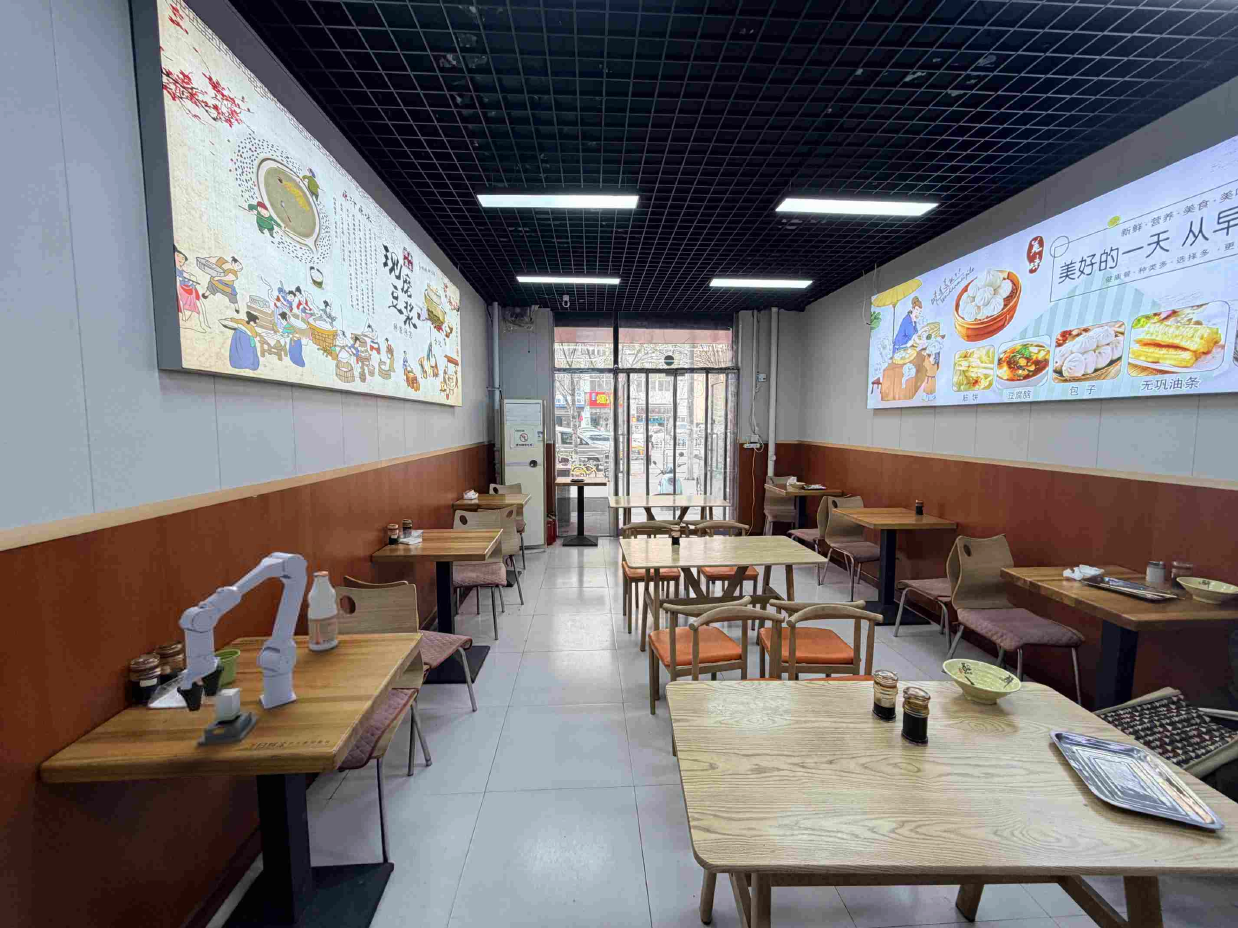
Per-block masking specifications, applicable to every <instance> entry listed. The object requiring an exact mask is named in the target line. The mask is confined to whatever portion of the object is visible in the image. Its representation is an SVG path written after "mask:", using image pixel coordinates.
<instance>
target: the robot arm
mask: <svg viewBox="0 0 1238 928" xmlns="http://www.w3.org/2000/svg"><path fill="white" fill-rule="evenodd" d="M307 566H308V562H307V560H306V559H305V558H304V557H303V556H302V555H300V554H297V553H296V554H292V553H285V552H280V551H275V552H273V553H270V554H269V555H268V556H267V557H265V558H262V560H261V561H260V563H259V564H258V565H257V566H256V567H255V568H253V569H252V570H251V571H250V572H249V573H247V574H246V575H244V577H242V578H241V579H240V580H239V581H238V582H236V583H235V584H233V585H232V586H224V587H219V588H218V589H216V590H215V593H214V594H212V595H211V596H209V597H208V598H207V599H205V600H203V601H200V602H199V603H198V605H197V606H194V607H193V606H192V607H190V608H188V609H186V610H184V612H183V614H182V615H181V617H180V619H179V620H178V625H179V627H181V628H182V629H183V630H184V639H185V657H186V658H185V660H186V669H184V670H183V671H181V674H182V675H183V676H184V677H183V679H182V681H181V682H179V684H180V685H179V686H177V687H176V693H178V694H179V696H181V697H182V699H183V700H184V702H185V705H186V707H187V709H188V711H189V712H198V711H200V710H201V706H202V696H203V692H204V696H205V697H206V698H209V697H215V696H216V695H217V692H218V687H219V685H218V684H219V680H220V677H221V675H222V673H223V671H224V669H225V668H224V666H218V665H220V657H218V658H214V653H215V645H214V641H215V639H214V627H215V626H216V625H217V623H218V621H219V619H220V618H221V617H222V616H224V614H226V613H228V612H229V611H230V610H231V609H232V608H234V607H235V606H237V605H238V604H239V603H240V602H241V599H242V596H243V595H244V594H246V593H247V592H249V591H250V590H252V589H253V588H254V587H256V586H258V585H259V584H261V583H262V582H263V581H266V579H268V578H274V577H275V578H276V577H277V578H278V579H280V580H281V582H282V583H283V584H284V589H283V593H282V596H281V599H280V603H279V607H278V610H277V614H276V618H275V623H274V626H273V630H272V634H271V637H270V638H269V639H267V640H266V641H265V642H264V643H263V646H262V649H261V650H260V652H259V653H258V655H257V656H256V664H257V666H258V667H259V668H261V673H262V681H263V682H262V683H263V685H262V686H263V694H261V695H260V696H259V698H260V701H261V703H262V705H263V708H264V709H266V710H267V709H270V708H274V707H278V706H280V705H283V704H287V703H290V702H293V701H296V700H297V699H298V698H297V695H295V693H294V690H293V669H294V667H295V665H296V663H297V660H298V659H297V657H298V656H297V648H298V646H297V644H296V643H295V641H294V639H293V637H294V633H295V629H296V625H297V621H298V617H299V614H300V610H301V606H302V605H301V604H302V602H303V598H304V594H305V590H306V586H307V581H308V575H307V571H306V569H307ZM200 679H201V682H202V683H201V684H199V682H198V680H200Z"/></svg>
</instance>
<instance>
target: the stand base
mask: <svg viewBox="0 0 1238 928" xmlns="http://www.w3.org/2000/svg"><path fill="white" fill-rule="evenodd" d="M252 716H253V715H252V710H246V711H245V710H244V711H241V712H240V713H239V714H238V715H237V716H236V717H235V718H234V719H231V720H222V721H215V719H214V720H213V721H211V723H210V724H209V725H207V727H205V728H204V730H203V731H204V734H203V736H201V738H199V740H198V741H196V747H200V746H201V747H202V746H209V745H219V744H225V743H226V744H229V743H235V742H241V741H242V740H244V738H245V737H246V736H247V735H248V733H249V732H250V731H251V730H252V729H253V728H254V726H255V725H256V724H257V723H258V722H259V720H260V716H253V717H252Z"/></svg>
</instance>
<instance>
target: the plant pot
mask: <svg viewBox="0 0 1238 928" xmlns="http://www.w3.org/2000/svg"><path fill="white" fill-rule="evenodd" d="M240 654H241V651H240V650H238V649H225V650H220V651H217V652H214V658H218V657H220V665H218V666H224V668H225V669H224V671H223V673H222V675H221V677H220V680H219V684H218V686H223V685H225V684H227V683H229V684H230V683H231V682H234V681H235V680H236V676H237V666H238V659H239V658H240V657H239V656H240Z"/></svg>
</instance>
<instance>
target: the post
mask: <svg viewBox="0 0 1238 928" xmlns="http://www.w3.org/2000/svg"><path fill="white" fill-rule="evenodd" d="M240 693H241V692H240V688H239V687H238V688H227V689H222V690H220V692H218V693H216V695H215V696H213V697H214V710H215V712H214V714H215V717H214V720H215V721H222V720H231V719H234V718H235V717H236V716H237V715H238V714H239V713H240V712H242V707H241V695H240Z"/></svg>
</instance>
